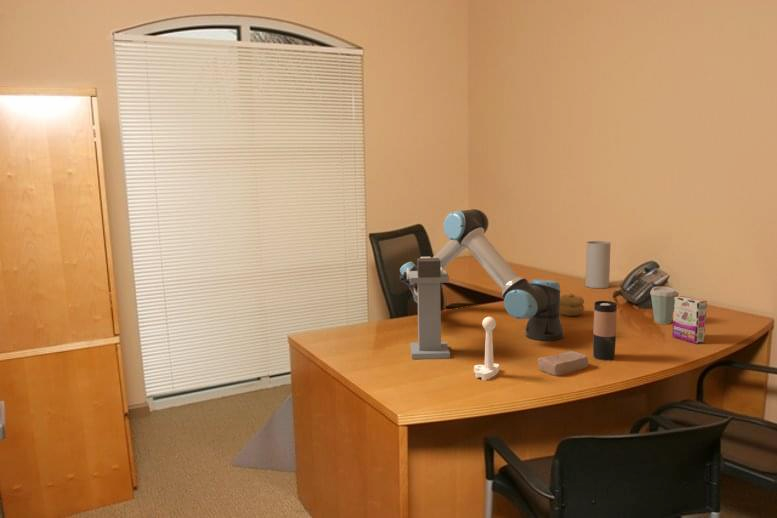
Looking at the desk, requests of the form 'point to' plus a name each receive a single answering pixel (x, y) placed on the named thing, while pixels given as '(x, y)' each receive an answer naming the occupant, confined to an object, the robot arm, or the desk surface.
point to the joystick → (487, 352)
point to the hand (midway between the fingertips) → (424, 270)
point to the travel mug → (604, 330)
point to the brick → (563, 363)
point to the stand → (429, 318)
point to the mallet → (428, 267)
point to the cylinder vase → (597, 264)
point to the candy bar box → (689, 319)
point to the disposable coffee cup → (663, 304)
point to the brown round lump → (571, 305)
